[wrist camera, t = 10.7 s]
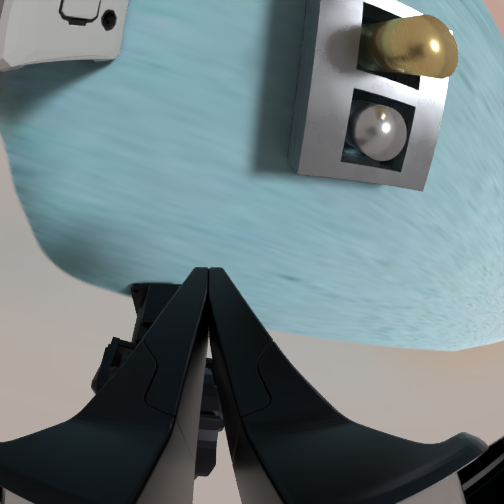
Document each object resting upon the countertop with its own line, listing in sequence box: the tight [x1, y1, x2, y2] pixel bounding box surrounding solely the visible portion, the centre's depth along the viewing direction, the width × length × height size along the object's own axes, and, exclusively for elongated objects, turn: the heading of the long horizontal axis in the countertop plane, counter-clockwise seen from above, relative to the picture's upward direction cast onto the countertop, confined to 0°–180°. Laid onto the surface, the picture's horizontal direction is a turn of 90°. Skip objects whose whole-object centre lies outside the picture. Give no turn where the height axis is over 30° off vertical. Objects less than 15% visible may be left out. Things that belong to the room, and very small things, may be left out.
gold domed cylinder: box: [357, 15, 458, 79], centre depth 11 cm, size 4×4×7 cm
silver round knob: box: [345, 100, 407, 161], centre depth 16 cm, size 4×4×4 cm
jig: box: [287, 0, 453, 191], centre depth 15 cm, size 13×10×3 cm
